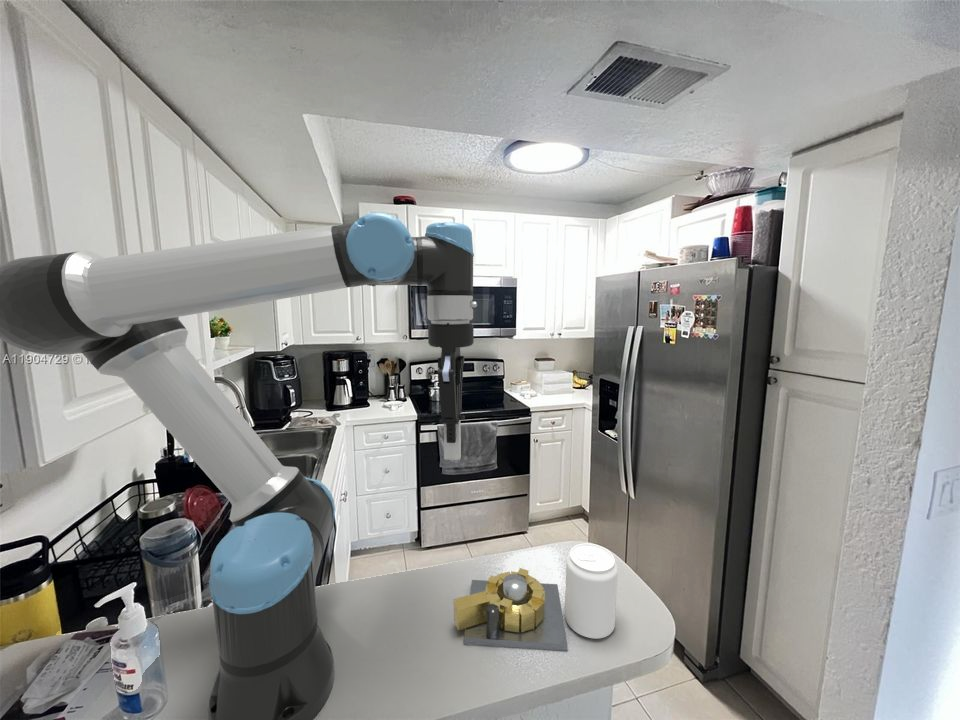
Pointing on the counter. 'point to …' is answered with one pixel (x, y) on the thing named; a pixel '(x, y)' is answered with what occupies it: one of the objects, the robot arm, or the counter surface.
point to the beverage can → (591, 590)
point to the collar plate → (541, 637)
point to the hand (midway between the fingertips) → (452, 457)
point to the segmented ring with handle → (502, 605)
